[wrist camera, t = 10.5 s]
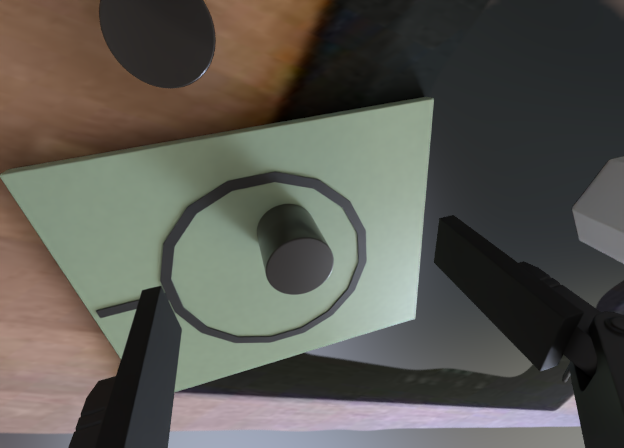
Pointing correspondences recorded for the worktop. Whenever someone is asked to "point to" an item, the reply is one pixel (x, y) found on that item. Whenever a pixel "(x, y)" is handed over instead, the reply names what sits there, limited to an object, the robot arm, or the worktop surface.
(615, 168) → the jar
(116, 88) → the worktop surface
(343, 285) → the board
